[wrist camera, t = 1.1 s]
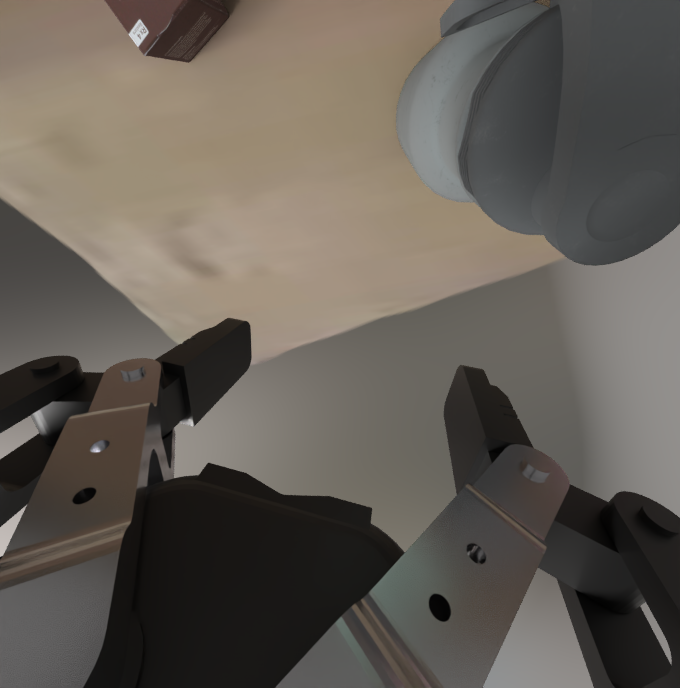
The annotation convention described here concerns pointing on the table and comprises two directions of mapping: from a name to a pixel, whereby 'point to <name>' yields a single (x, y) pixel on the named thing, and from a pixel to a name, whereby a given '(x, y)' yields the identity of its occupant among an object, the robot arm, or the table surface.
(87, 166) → the table surface
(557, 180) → the water bottle
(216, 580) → the robot arm
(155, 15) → the box
